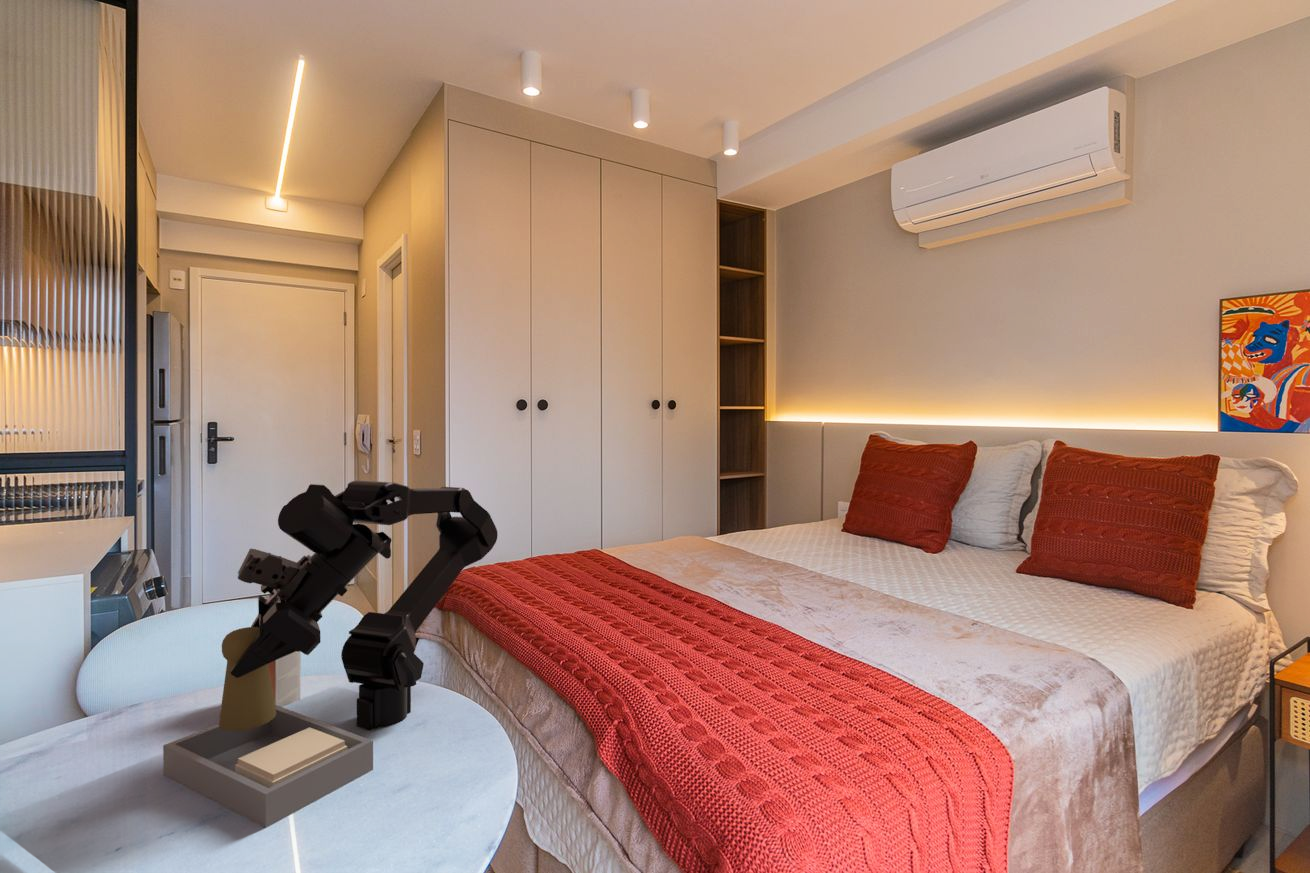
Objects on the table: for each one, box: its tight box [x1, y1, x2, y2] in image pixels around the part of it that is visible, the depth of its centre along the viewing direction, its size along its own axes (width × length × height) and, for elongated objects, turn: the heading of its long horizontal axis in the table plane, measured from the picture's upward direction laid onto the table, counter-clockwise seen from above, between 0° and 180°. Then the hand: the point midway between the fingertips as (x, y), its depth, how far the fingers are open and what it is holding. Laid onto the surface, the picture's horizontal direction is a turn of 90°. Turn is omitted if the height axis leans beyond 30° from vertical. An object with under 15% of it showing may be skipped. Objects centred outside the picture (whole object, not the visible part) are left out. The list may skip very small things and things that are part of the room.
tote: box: [162, 705, 374, 829], centre depth 79 cm, size 13×20×4 cm, turn 61°
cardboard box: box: [235, 727, 347, 788], centre depth 77 cm, size 9×7×4 cm
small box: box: [268, 651, 302, 708], centre depth 99 cm, size 8×6×10 cm
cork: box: [218, 626, 276, 731], centre depth 81 cm, size 6×6×11 cm
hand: (233, 667), depth 81 cm, fingers closed on cork, 5 cm apart
